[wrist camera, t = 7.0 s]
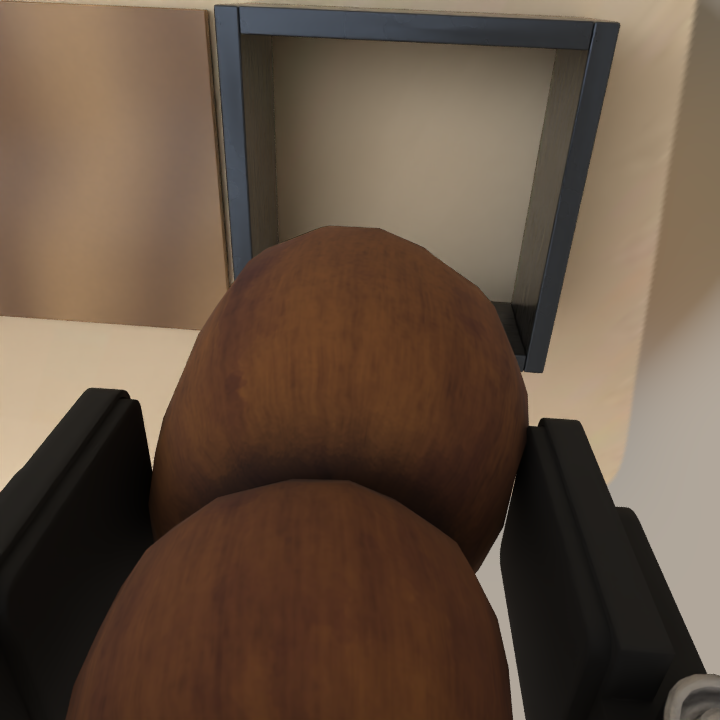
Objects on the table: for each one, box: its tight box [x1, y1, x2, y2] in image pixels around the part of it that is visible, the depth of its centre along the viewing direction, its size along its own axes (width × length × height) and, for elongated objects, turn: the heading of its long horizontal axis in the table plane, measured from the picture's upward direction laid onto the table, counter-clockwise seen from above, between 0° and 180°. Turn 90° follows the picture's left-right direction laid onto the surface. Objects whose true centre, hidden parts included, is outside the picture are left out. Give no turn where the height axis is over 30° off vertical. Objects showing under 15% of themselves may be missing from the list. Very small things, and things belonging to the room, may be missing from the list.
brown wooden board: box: [0, 1, 229, 330], centre depth 28 cm, size 20×14×1 cm
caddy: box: [214, 3, 620, 373], centre depth 24 cm, size 13×13×5 cm
